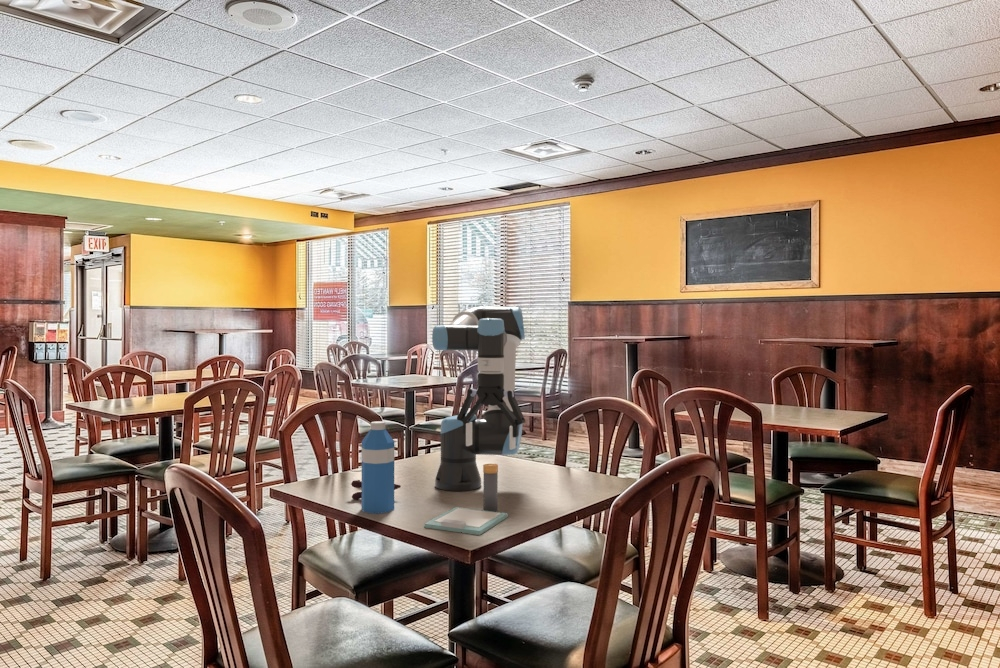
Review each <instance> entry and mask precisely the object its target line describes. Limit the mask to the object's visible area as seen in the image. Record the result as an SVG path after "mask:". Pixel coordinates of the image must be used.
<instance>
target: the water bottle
mask: <svg viewBox="0 0 1000 668" xmlns="http://www.w3.org/2000/svg"><path fill="white" fill-rule="evenodd" d="M361 481H362V488H361V492H362V498H361V510H362V512H363V511H364V512H367V513H366V514H373V513H374V515H377V514H385V513H389V512H391V511H394V510H395V490H394V484H395V440H394V439H393V438H392V436H391V435H390V434H389V432H388V430H386V422H385V421H382V420H379V421H377V420H376V421H371V422H370V429H369V430H368V432H367V433H366V435H365V436H364V438H363V439H362V441H361ZM364 512H363V513H364Z"/></svg>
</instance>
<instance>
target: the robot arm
mask: <svg viewBox="0 0 1000 668" xmlns="http://www.w3.org/2000/svg"><path fill="white" fill-rule="evenodd" d="M525 334H526V333H525V326H524V316H523V311H522V309H521V308H520V307H518V306H510V305H508V306H482V305H480V306H473V307H470V308H467V309H464V310H462V311H460V312H458V313H457V314H455V316H454V317H453V319H452V321H451V322H450V323H449V324H447V325H445V324H442V325H435V326H434V327H433V329H432V334H431V335H432V338H431V341H432V342H431V343H432V347H433V349H434V350H436V351H443V352H446V351H477V371H478V372H479V373H478V374H477V389H475V388H474V387H473V388H468V389H467V390H466V391H467V392H466V396H465V397H466V398H465V399H464V402H463V404H462V406H461V408H460V410H459V412H458V414H457V415H452V416H447V417H445V418H443V419H442V420H441V423H440V431H439V434H440V463H439V467H438V469H437V472H436V475H435V480H434V486H435V488H436V489H438V490H443V491H453V492H463V491H465V492H466V491H473V490H476V489H479V488H481V487H482V478H481V474H480V472H479V468H478V465H477V455H480V456H481V455H482V456H483V455H485V456H486V455H489V456H503V457H504V456H512V455H516V454H518V452H519V451H520V447H521V442H522V441H521V440H522V433H523V424H525V423H526V419H525V417H524V415H523V412H522V410H521V408H520V406H519V403H518V401H517V400H516V399H517V398H516V393H515V391H516V390H515V389H516V388H515V387H516V386H515V385H516V357H517V355H516V353H517V348H518V347H519V346H520V344H521V341H522V340H525V339H526V337H525ZM476 396H477V397H478V399H477V400H476V401H475V404H474V405H473V406H472V408H471V409H470V407H471V405H472V402H473V400H474V397H476ZM482 406H488V409H487V410H485V411H484V413H483V418H477V415H476V414H477V413H478V411H479V410H480V409H481V407H482Z"/></svg>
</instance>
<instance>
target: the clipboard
mask: <svg viewBox="0 0 1000 668" xmlns="http://www.w3.org/2000/svg"><path fill="white" fill-rule="evenodd" d="M508 516H509V513H508V512H499V511H497V512H493V511H485V510H483V509H476V508H467V507H466V508H465V507H461V506H460V507H458V506H455V507H453V508H452V509H450V510H448V511H445V512H444V513H441V514H440V515H438V516H436V517H434V518H432V519H430V520H428V521H426V522H425V523H424V526H423V527H424V528H427V529H431V530H433V529H434V530H440V531H449V532H454V533H461V532H462V533H463V534H470V535H475V536H481V535H483V534H484V533H485V532H487V531H488V530H490V529H491V528H493V527H494V526H496V525H497V524H499V523H501V522H502V521H504V520H505V519H507V518H508Z"/></svg>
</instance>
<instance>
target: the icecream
mask: <svg viewBox="0 0 1000 668" xmlns="http://www.w3.org/2000/svg"><path fill="white" fill-rule="evenodd" d="M350 485H351V486H352V487H353V488H356V489H362V480H360V479H357V480H352V482H351V484H350ZM401 486H402V485H400V484H396V483H394V491H395V490H398V489H400V488H401ZM351 498H352V500H360V499H362V491H357V492H354V493H353V494H352V495H351Z"/></svg>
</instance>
